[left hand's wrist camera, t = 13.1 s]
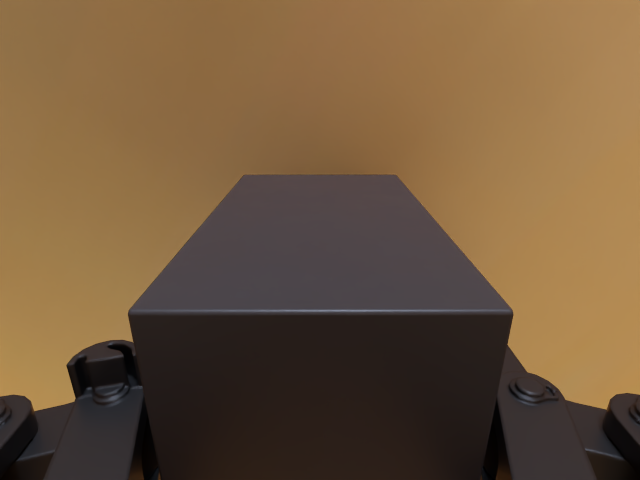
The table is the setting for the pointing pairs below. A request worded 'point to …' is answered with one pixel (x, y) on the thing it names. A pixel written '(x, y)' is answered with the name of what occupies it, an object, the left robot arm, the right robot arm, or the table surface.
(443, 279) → the bar
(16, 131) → the table surface
